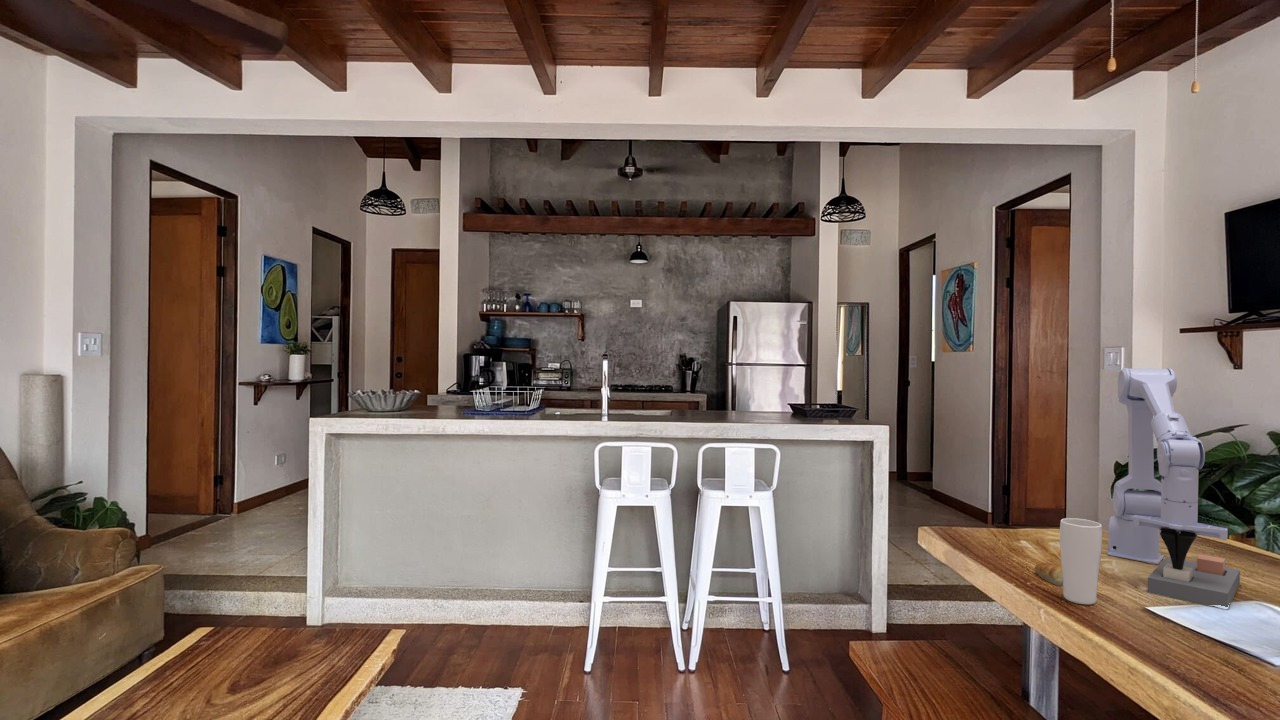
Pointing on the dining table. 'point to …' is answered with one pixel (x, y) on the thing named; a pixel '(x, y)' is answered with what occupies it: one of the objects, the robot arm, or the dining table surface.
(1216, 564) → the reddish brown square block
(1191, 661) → the dining table surface
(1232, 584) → the key panel
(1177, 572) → the white key
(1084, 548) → the drinking glass
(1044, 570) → the pastry
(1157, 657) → the dining table surface
